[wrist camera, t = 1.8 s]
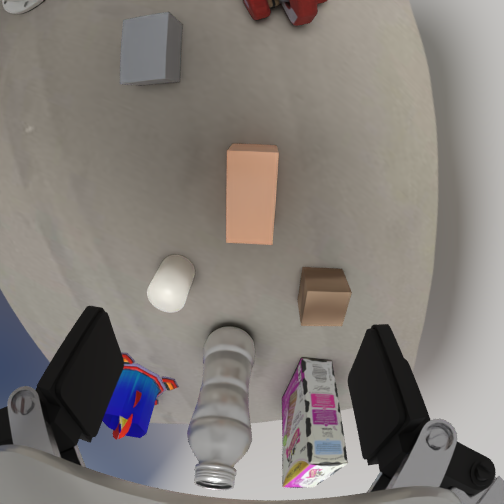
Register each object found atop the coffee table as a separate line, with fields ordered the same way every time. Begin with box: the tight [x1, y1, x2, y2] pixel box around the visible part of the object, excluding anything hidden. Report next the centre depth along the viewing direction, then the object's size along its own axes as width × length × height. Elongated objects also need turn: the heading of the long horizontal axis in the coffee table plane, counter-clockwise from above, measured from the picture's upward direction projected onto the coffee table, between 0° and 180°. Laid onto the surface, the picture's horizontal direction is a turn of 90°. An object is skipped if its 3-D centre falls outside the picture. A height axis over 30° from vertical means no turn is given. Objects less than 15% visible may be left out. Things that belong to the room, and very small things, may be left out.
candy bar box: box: [282, 358, 348, 488], centre depth 34 cm, size 11×5×16 cm, turn 170°
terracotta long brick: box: [226, 144, 279, 245], centre depth 26 cm, size 8×4×4 cm, turn 178°
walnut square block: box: [298, 267, 352, 326], centre depth 31 cm, size 4×4×4 cm
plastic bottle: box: [187, 326, 255, 490], centre depth 28 cm, size 6×7×20 cm
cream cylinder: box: [147, 255, 195, 312], centre depth 30 cm, size 4×4×5 cm
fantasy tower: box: [102, 353, 179, 439], centre depth 38 cm, size 12×12×12 cm
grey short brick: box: [120, 12, 183, 86], centre depth 20 cm, size 6×4×4 cm, turn 178°
